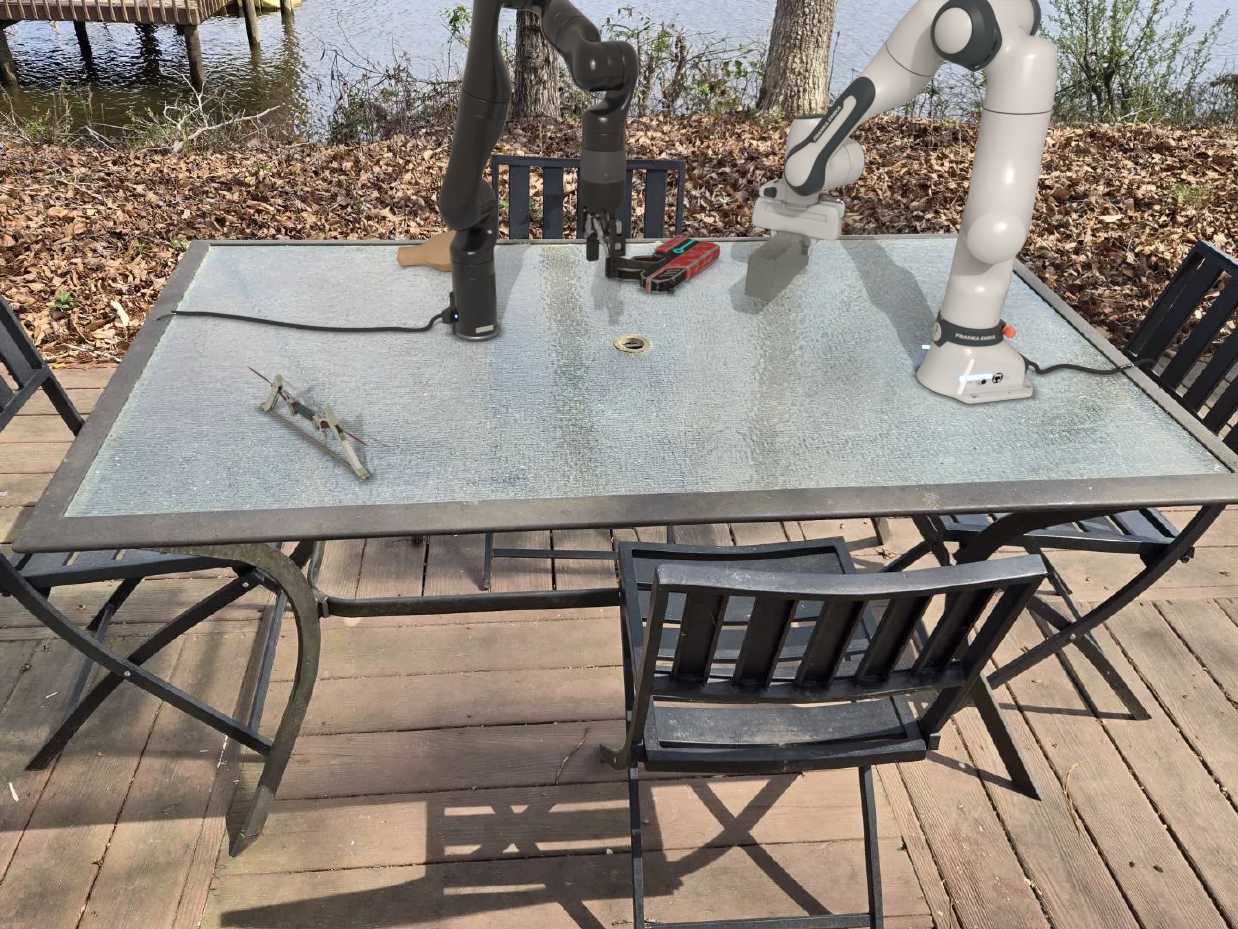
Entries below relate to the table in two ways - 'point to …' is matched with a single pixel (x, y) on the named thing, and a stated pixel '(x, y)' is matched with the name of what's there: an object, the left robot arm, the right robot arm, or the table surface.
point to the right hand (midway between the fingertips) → (792, 251)
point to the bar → (776, 264)
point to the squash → (429, 252)
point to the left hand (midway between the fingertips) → (601, 268)
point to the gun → (669, 264)
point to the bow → (314, 422)
